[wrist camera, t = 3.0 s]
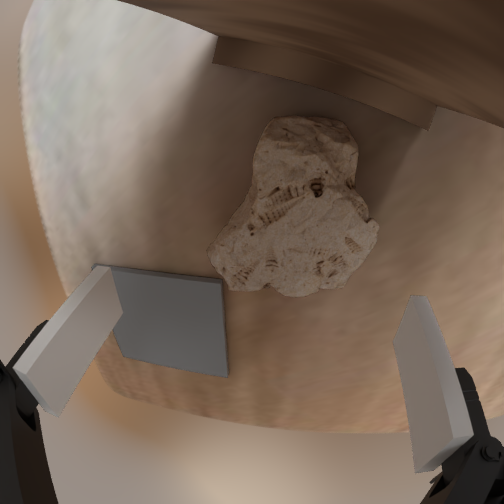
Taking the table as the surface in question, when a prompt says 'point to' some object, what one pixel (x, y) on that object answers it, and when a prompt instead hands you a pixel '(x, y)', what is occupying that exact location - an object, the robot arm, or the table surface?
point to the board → (365, 49)
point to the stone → (298, 213)
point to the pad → (171, 320)
